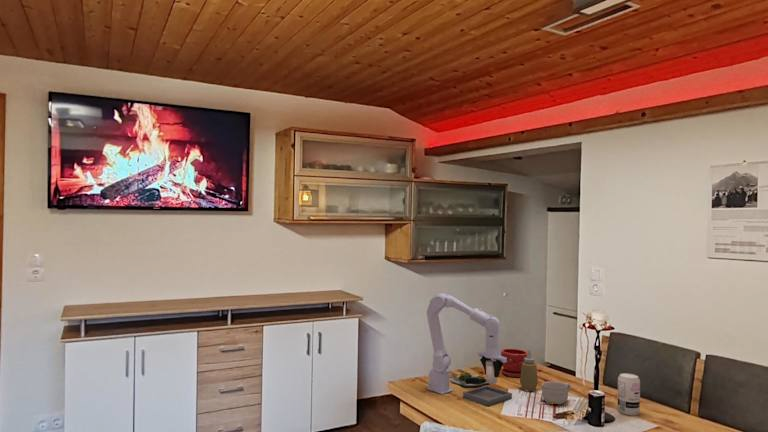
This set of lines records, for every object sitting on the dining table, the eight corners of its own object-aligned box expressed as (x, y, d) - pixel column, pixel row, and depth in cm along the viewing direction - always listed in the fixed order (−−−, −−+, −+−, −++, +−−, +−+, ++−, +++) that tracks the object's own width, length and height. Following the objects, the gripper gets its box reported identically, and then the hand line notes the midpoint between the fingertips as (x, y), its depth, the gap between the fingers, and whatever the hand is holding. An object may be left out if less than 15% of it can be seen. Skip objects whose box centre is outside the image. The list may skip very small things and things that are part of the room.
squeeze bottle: (536, 387, 250) (536, 348, 250) (539, 392, 242) (539, 353, 242) (518, 386, 251) (519, 348, 251) (521, 392, 243) (521, 352, 243)
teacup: (550, 408, 223) (550, 388, 223) (536, 399, 233) (536, 381, 233) (579, 405, 226) (579, 386, 226) (564, 397, 237) (564, 379, 237)
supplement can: (620, 407, 224) (621, 371, 224) (642, 412, 219) (642, 375, 219) (615, 412, 218) (615, 375, 218) (636, 417, 213) (637, 379, 213)
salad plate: (439, 380, 260) (439, 371, 260) (464, 374, 271) (464, 365, 271) (469, 391, 245) (469, 380, 245) (494, 384, 256) (494, 374, 256)
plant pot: (523, 379, 262) (523, 355, 262) (497, 375, 269) (497, 351, 269) (530, 373, 273) (531, 350, 273) (505, 369, 280) (506, 346, 280)
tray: (463, 398, 234) (463, 392, 234) (486, 390, 244) (486, 385, 244) (488, 406, 223) (488, 400, 223) (511, 398, 233) (511, 393, 233)
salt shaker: (483, 382, 236) (483, 361, 236) (491, 379, 239) (490, 359, 238) (492, 384, 232) (491, 363, 232) (499, 382, 235) (498, 361, 235)
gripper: (473, 343, 239) (473, 373, 238) (499, 349, 227) (499, 381, 227) (483, 340, 243) (483, 370, 243) (510, 346, 232) (509, 378, 232)
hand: (491, 375), depth 235 cm, fingers closed on salt shaker, 5 cm apart
